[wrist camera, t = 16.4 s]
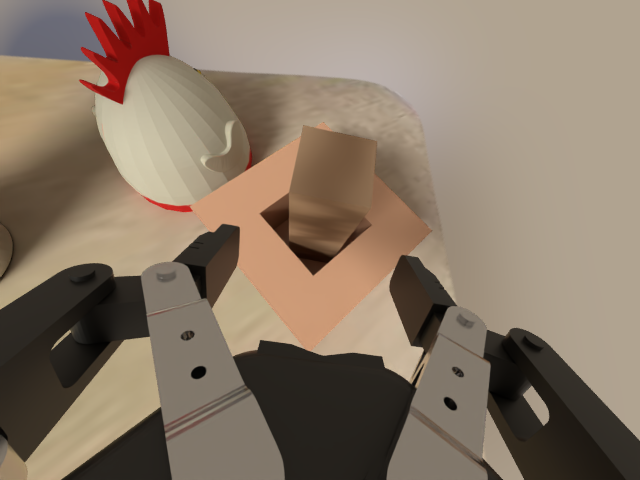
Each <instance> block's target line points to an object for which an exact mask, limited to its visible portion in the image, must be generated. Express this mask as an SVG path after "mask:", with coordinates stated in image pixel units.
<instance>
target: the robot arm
mask: <svg viewBox="0 0 640 480" xmlns="http://www.w3.org/2000/svg"><path fill="white" fill-rule="evenodd" d="M239 244H240V227H239V226H234V225H228V224H222V225H221V226H220V227H219V228H218V229H217V230H216V231H215V232H207V233H205V234H202V235H200V236H199V237H198V238H197V239H196V240H195V241H194V242H193V243H191V244H190V245H189V247H187V248H186V249H185V250H184V251H183V252H182V253H181V254H180V255H179V256H178V257H177V258H176V259H175V260H174V261H172V262H164V263H159V264H155V265H153V266H151V267H149V268H147V269H146V270H145V271H144V272H143V273H142V275H141V276H124V277H114V274H113V270H112V268H111V267H110V266H108V265H105V264H99V263H90V264H82V265H77V266H74V267H70V268H67V269H65V270H63V271H61V272H59V273H57V274H56V275H54V276H53V277H51V278H49V279H48V280H46V281H45V282H43V283H42V284H40V285H38V286H37V287H35V288H34V289H32V290H31V291H29V292H27V293H26V294H24V295H23V296H21V297H20V298H18V299H16V300H15V301H13V302H12V303H10V304H9V305H7V306H5V307H4V308H2V309H1V310H0V480H27V474H28V471H27V466H26V464H25V462H26V460H27V459H28V458H29V457H30V455H31V454H32V453H33V452H34V451H35V449H36V448H37V447H38V446H39V444H40V443H41V442H42V441H43V439H44V438H45V437H46V436H47V435H48V433H49V432H50V431H51V430H52V428H53V427H54V426H55V425H56V423H57V422H58V421H59V420H60V418H61V417H62V416H63V415H64V414H65V412H66V411H67V410H68V409H69V407H70V406H71V405H72V404H73V402H74V401H75V400H76V399H77V397H78V396H79V395H80V394H81V393H82V391H83V390H84V389H85V388H86V386H87V385H88V384H89V383H90V381H91V380H92V379H93V378H94V376H95V375H96V374H97V373H98V372H99V370H100V369H101V368H102V367H103V365H104V364H105V363H106V362H107V360H108V359H109V358H110V357H111V356H112V354H113V353H114V352H115V351H116V349H117V348H118V347H119V346H120V344H121V343H122V342H123V341H124V340H126V339H134V338H142V337H150V340H151V346H152V353H153V359H154V365H155V372H156V378H157V384H158V391H159V397H160V403H161V407H160V408H158V409H157V410H156V411H154V412H153V413H152V414H150V415H149V416H147V417H146V418H145V419H143V420H142V421H141V422H139V423H138V424H137V425H135V426H134V427H132V428H131V429H130V430H128V431H127V432H126V433H124V434H123V435H122V436H120V437H119V438H117V439H116V440H115V441H113V442H112V443H111V444H109V445H108V446H107V447H105V448H104V449H102V450H101V451H100V452H98V453H97V454H96V455H94V456H93V457H91V458H90V459H89V460H87V461H86V462H85V463H83V464H82V465H81V466H79V467H78V468H76V469H75V470H74V471H72V472H71V473H70V474H68V475H67V476H66V477H64V478H63V479H61V480H503V479H502V478H501V477H500V476H499V475H498V474H497V473H496V472H495V471H494V470H493V469H492V468H491V467H490V466H489V464H488V463H487V462H486V461H485V460H484V459H483V458H482V453H483V442H484V431H485V421H486V409H488V411H489V412H490V415H491V417H492V418H493V420H494V422H495V424H496V426H497V428H498V430H499V432H500V434H501V436H502V438H503V440H504V441H505V443H506V445H507V447H508V449H509V451H510V453H511V455H512V457H513V459H514V461H515V463H516V465H517V466H518V468H519V470H520V472H521V474H522V476H523V478H524V480H640V441H639V440H638V439H637V437H636V436H635V435H634V434H633V433H632V432H631V431H630V430H629V429H628V428H627V427H626V426H625V425H624V424H623V423H622V422H621V421H620V420H619V418H618V417H617V416H616V415H615V414H614V413H613V412H612V411H611V410H610V409H609V408H608V407H607V406H606V405H605V404H604V403H603V402H602V400H601V399H600V398H598V396H597V395H596V394H595V393H594V392H593V391H592V390H591V389H590V388H589V387H588V386H587V385H586V384H585V383H584V382H583V380H582V379H581V378H580V377H579V376H578V375H577V374H576V373H575V372H574V371H573V370H572V369H571V368H570V367H569V366H568V365H567V363H565V361H564V360H563V359H562V358H561V357H560V356H559V355H558V354H557V353H556V352H555V351H554V350H553V349H552V348H551V347H550V346H549V345H548V344H547V343H546V342H545V341H543V340H542V339H541V338H539V337H538V336H536V335H534V334H532V333H530V332H528V331H526V330H523V329H519V328H513V329H511V330H510V331H509V332H508V334H507V335H506V336H503V335H500V334H497V333H495V332H492V331H489V330H487V327H486V325H485V323H484V322H483V321H482V320H481V319H480V318H479V317H478V316H477V315H475V314H474V313H472V312H471V311H469V310H467V309H464V308H461V307H457V305H456V304H455V303H454V301H453V300H452V298H451V297H450V296H449V294H448V293H447V291H446V290H444V287H443V286H442V285H441V284H440V282H439V280H438V279H437V278H436V276H435V275H434V274H433V273H431V272H430V271H429V270H428V269H426V268H425V267H424V265H423V264H422V262H421V261H420V260H419V258H418V257H412V256H407V255H401V256H400V258H399V260H398V263H397V265H396V268H395V270H394V273H393V275H392V278H391V280H390V293H391V296H392V298H393V301H394V303H395V306H396V308H397V311H398V314H399V316H400V319H401V321H402V324H403V326H404V329H405V331H406V334H407V336H408V339H409V342H410V344H411V346H416V347H423V349H424V351H423V353H422V355H421V357H420V359H419V361H418V363H417V365H416V368H415V370H414V372H413V374H412V376H411V379H410V381H409V382H408V381H407V380H406V379H404V378H403V377H402V376H400V375H398V374H397V373H395V372H393V371H391V370H389V369H387V368H385V367H384V363H383V359H382V357H381V356H373V355H366V354H359V353H346V354H336V355H327V356H322V355H318V354H316V353H313V352H310V351H308V350H305V349H302V348H300V347H297V346H295V345H292V344H286V343H278V342H271V341H264V340H260V344H259V347H258V350H254V351H249V352H244V353H241V354H238V355H235V356H233V357H232V355H231V352H230V350H229V348H228V345H227V343H226V341H225V339H224V336H223V334H222V332H221V329H220V327H219V325H218V323H217V320H216V318H215V316H214V313H213V311H212V307H213V306H214V304H215V302H216V301H217V299H218V297H219V295H220V294H221V292H222V290H223V289H224V287H225V285H226V283H227V282H228V280H229V278H230V277H231V275H232V273H233V271H234V270H235V268H236V266H237V263H238V259H239ZM12 248H13V243H12V239H11V236H10V234H9V232H8V231H7V229H6V228H5V227H4V226H3V225H2V224H0V277H1V276H2V275H3V273H4V272H5V270H6V268H7V266H8V264H9V262H10V259H11V256H12ZM69 330H71V333H70V334H69V335H68V336H67V337H65V338H64V339H63V340H62V341H61V342H60V343H59V344H58V345H57V346H56V347H55V348H54V349H52V347H53V346H54V344H55V343H56V342H57V341H58V340H59V339H60V338H61V337H62V336H63V335H64V334H65V333H66V332H67V331H69ZM51 349H52V350H51ZM531 386H533V387H534V389H535V390H536V392H537V393H538V394H539V396H540V397H541V398H542V400H543V401H544V402H545V404H546V406H547V408H548V410H549V421H548V423H547V424H545V425H544V426H543V425H542V423H541V422H540V420H539V419H538V417H537V416H536V414H535V413H534V411H533V410H532V408H531V407H530V405H529V404H528V402H527V401H526V400H525V398H524V397H523V394H524V393H525V392H526V391H527V390H528V389H529V388H530V387H531Z"/></svg>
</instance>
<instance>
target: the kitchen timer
mask: <svg viewBox="0 0 640 480" xmlns="http://www.w3.org/2000/svg"><path fill="white" fill-rule="evenodd" d="M102 1H103V4H104V6H105V8H106V11H107V13H108V15H109V17H110V19H111V21H112V23H113V25H114V27H115V29H116V32H117V34H118V36H119V39H120V40H119V39H118V37H117V36H116V35H115V34H114V33H113V32H112V31H111V29H110V28H109V27H108V26H107V25H106V24H105V23H104V22H103V21H102V20H101V19H100V18H98V17H96V16H94V15H91V14H89V13H87V12H85V15H86V17H87V19H88V21H89V23H90V25H91V27H92V29H93V31H94V32H95V34H96V36H97V38H98V40H99V41H100V43H101V45H102V47H103V49H104V51H105V53H106V56H107V57H106V58H105V57H103V56H101V55H99V54H97V53H95V52H92V51H90V50H88V49H86V48H84V47H81V51H82V52H83V53H84V54H85V55H86V56H87V57H88V58H89V59H90V60H91V61H92V62H93V63H95V64H96V65H97V66H98V67H99V68H100V69H101V70H102V72H101V74H100V77H99V80H98V83H97V85H95V84H92V83H89V82H87V81H84V80H79V81H80V82H81V83H82V84H83V85H85V86H86V87H87V88H89V89H91V90H92V91H94V92H95V105H94V106H93V107H92V113H93V115H94V116H95V117H96V120H97V126H98V129H99V132H100V135H101V137H102V139H103V141H104V143H105V145H106V147H107V149H108V151H109V153H110V155H111V157H112V159H113V161H114V163H115V165H116V167H117V168H118V170H119V172H120V174H121V175H122V176H123V178H124V179H125V180H126V181H127V182H128V183H129V184H130V185H131V186H132V187H133V188H134V189H135V190H136V191H137V192H139V193H140V194H141V195H142V196H143V197H144V198H146V199H147V200H148V201H149V202H151V203H153V204H155V205H158V206H160V207H162V208H164V209H167V210H174V211H180V212H191V211H193V210H192V209H191V208H190V206H191V205H193V204H194V203H196V202H197V201H199V200H201V199H202V198H204V197H205V196H207V195H209V194H210V193H212V192H213V191H215V190H216V189H218V188H220V187H221V186H223V185H224V184H226V183H228V182H229V181H231V180H232V179H234V178H235V177H237V176H239V175H240V174H242V173H243V172H245V171H247V170H248V169H250V168H251V163H252V153H251V149H250V145H249V141H248V138H247V134H246V131H245V129H244V127H243V125H242V123H241V122H240V120H239V119H238V117H237V116H236V114H235V113H234V111H233V110H232V108H231V107H230V106H229V104H228V103H227V101H226V100H225V98H224V97H223V96H222V94H221V93H220V92H219V91H218V89H217V88H216V87H215V86H214V85H213V84H212V83H211V82H210V81H208V80H207V79H206V78H205V77H203V76H202V75H201V72H200V71H199V70H196V69H195V68H192V67H191V66H189V65H188V64H186V63H184V62H183V61H181V60H178V59H176V58H174V57H172V56H170V55H169V47H168V40H167V31H166V24H165V18H164V13H163V9H162V5H161V4H160V3H158V2H156V1H154V0H149V13H148V11H147V10H146V7H145V5H144V3H143V1H142V0H127V3H128V6H129V9H130V13H131V16H132V19H133V23H134V27H133V26H132V24H131V23H130V21H129V20H128V19H127V18H126V16H125V15H124V14H123V12H122V11H121V10H120V9H119V8H118V7H117V6H116V5H114V4H112V3H110V2H108V1H105V0H102Z"/></svg>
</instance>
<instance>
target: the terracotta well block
mask: <svg viewBox="0 0 640 480" xmlns="http://www.w3.org/2000/svg"><path fill="white" fill-rule="evenodd" d="M315 128H318V129H323V130H328V131H332V130H331V129H330V128H329V127H328V126H327V125H326V124H325V123H324V122H323V123H321V124H319V125H318V126H316V127H315ZM332 132H333V131H332ZM300 139H301V136H300V137H299V138H297V139H296V140H294V141H292V142H291V143H289V144H288V145H286V146H285V147H283V148H281V149H280V150H278V151H277V152H275V153H273V154H272V155H270V156H269V157H267V158H266V159H264V160H262V161H261V162H259V163H258V164H256V165H254V166H253V167H251V168H250V169H248V170H247V171H245V172H243V173H242V174H240V175H239V176H237V177H235V178H234V179H232V180H231V181H229V182H228V183H226V184H224V185H223V186H221V187H220V188H218V189H216V190H215V191H213V192H212V193H210V194H209V195H207V196H205V197H204V198H202V199H201V200H199V201H197V202H196V203H194V204H193V205H191V206H190V208H191V209H192V210H193V211H194V213H195V214H196V215H197V216H198V218H199V219H200V220H201V221H202V222H203V224H204V225H205V226H206V227H207V229H208V230H209V231H210V232H215V231H216V230H217V229H218V228H219V227H220V226H221V225H222V224H228V225H234V226H239V227H240V244H239V259H238V263H237V266H238V267H239V268H240V269H241V270H242V272H243V273H244V274H245V275H246V277H247V278H248V279H249V280H250V282H251V283H252V284H253V285H254V286H255V288H256V289H257V290H258V291H259V293H260V294H261V295H262V296H263V297H264V299H265V300H266V301H267V302H268V304H269V305H270V306H271V307H272V309H273V310H274V311H275V312H276V313H277V315H278V316H279V317H280V318H281V320H282V321H283V322H284V323H285V325H286V326H287V327H288V328H289V329H290V331H291V332H292V333H293V334H294V336H295V337H296V338H297V339H298V341H299V342H300V343H301V344H302V345H303V347H304V348H305V349H306V350H308V351H311V350H312V349H313V348H314V347H315V346H316V345H317V344H318V343H319V342H320V341H321V340H322V339H323V338H324V337H325V336H326V335H327V334H328V333H329V332H330V331H331V330H332V329H333V328H334V327H335V326H336V325H337V324H338V323H339V322H340V321H341V320H342V319H343V318H344V317H345V316H346V315H347V314H348V313H349V312H350V311H351V310H352V309H353V308H354V307H355V306H356V305H357V304H358V303H359V302H360V301H361V300H362V299H363V298H364V297H365V296H366V295H368V294H369V293H370V292H371V291H372V290H373V289H374V288H375V287H376V286H377V285H378V284H379V283H380V282H381V281H382V280H383V279H384V278H385V277H386V276H387V275H388V274H389V273H390V272H391V271H392V270H393V269H394V268H395V267H396V265H397V263H398V260H399V258H400V256H401V255H408V254H409V253H410V252H411V251H412V250H413V249H414V248H415V247H416V246H417V245H418V244H419V243H420V242H421V241H422V240H423V239H424V238H425V237H426V236H427V235H428V234H429V233H430V232H431V231H432V230H431V229H430V228H429V227H428V226H427V225H426V224H425V223H424V222H423V221H422V220H421V219H420V218H419V217H418V216H417V215H416V214H415V213H414V212H413V211H412V210H411V209H410V208H409V207H408V206H407V205H406V204H405V203H404V202H403V201H402V200H401V199H400V198H399V197H398V196H397V195H396V194H395V193H394V192H393V191H392V190H391V189H390V188H389V187H388V186H387V185H386V184H385V183H384V182H383V181H382V180H381V179H380V178H379V177H378V176H377V175H376V174H375V173H374V182H373V193H372V204H371V209H370V210H369V211H368V213H367V214H366V215H365V217H364V218H363V219H362V221H361V222H360V223H359V225H358V226H357V227H356V229H355V230H354V231H353V233H352V234H351V235H350V237H349V238H348V239H347V240H346V242H345V243H344V244H343V246H342V247H341V248H340V250H339V251H338V252H337V254H336V255H335V256H334V258H333V259H332V260H331V261H330V262H329V263H325V262H319V261H313V260H308V259H302V258H297V256H296V255H295V254H294V253H293V252H292V251H291V250H290V248H289V190H290V185H291V180H292V176H293V171H294V167H295V162H296V157H297V153H298V148H299V144H300Z"/></svg>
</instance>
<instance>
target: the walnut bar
mask: <svg viewBox="0 0 640 480" xmlns="http://www.w3.org/2000/svg"><path fill="white" fill-rule="evenodd" d="M376 148H377V141H374V140H369V139H365V138H360V137H355V136H351V135H346V134H342V133H337V132H332V131H328V130H323V129H318V128H314V127H309V126H304V125H303V130H302V134H301V139H300V144H299V148H298V153H297V157H296V162H295V167H294V171H293V176H292V180H291V185H290V190H289V248H290V250H291V251H292V252H293V253H294V254H295V255H296V256H297V258H302V259H308V260H313V261H319V262H325V263H329V262H330V261H331V260H332V259H333V258H334V256H335V255H336V254H337V252H338V251H339V250H340V248H341V247H342V246H343V244H344V243H345V242H346V240H347V239H348V238H349V237H350V235H351V234H352V233H353V231H354V230H355V229H356V227H357V226H358V225H359V223H360V222H361V221H362V219H363V218H364V217H365V215H366V214H367V213H368V211H369V210H370V209H371V204H372V193H373V182H374V171H375V160H376Z"/></svg>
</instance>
